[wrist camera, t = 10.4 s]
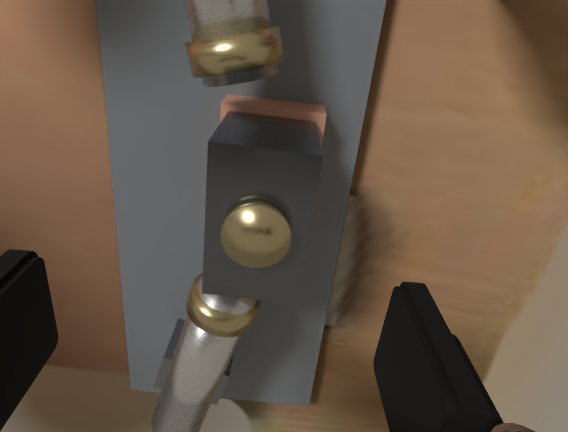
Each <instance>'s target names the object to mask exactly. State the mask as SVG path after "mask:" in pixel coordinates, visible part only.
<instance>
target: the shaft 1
mask: <svg viewBox="0 0 568 432" xmlns="http://www.w3.org/2000/svg"><path fill="white" fill-rule="evenodd" d="M183 4H184V8H185V12H186V16H187V20H188V25H189V29H190V33H191V37H192V41H189V42H185V47H186V51H187V56H188V60H189V64H190V68H191V72H192V76H193V77H196V78H201V79H202V84H203V86H204V87H219V86H228V85H234V84H240V83H246V82H251V81H255V80H259V79H263V78H267V77H270V76H273V75H275V74H277V73H278V72H279V71H278V63H281V62H283V61H284V60H285V58H284V52H283V45H282V38H281V31H280V26H273V27H272V26H271V20H270V13H269V7H268V0H183Z"/></svg>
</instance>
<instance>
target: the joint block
mask: <svg viewBox="0 0 568 432" xmlns="http://www.w3.org/2000/svg"><path fill="white" fill-rule="evenodd" d="M322 159H323V153H322V148H321V143H320V138H319V133H318V128H317V124H316V122H315V121H307V120H300V119H292V118H284V117H276V116H268V115H260V114H252V113H244V112H237V111H228V112H227V114H226V115H225V117H224V118H223V120H222V121H221V123H220V124H219V126H218V127H217V129H216V130H215V132H214V133H213V135H212V136H211V138H210V139H209V141H208V153H207V179H206V204H205V230H204V255H203V281H202V293H203V294H212V295H221V296H230V297H239V298H248V299H257V300H266V301H275V302H284V303H293V304H298V299H299V293H300V287H301V282H302V276H303V270H304V264H305V258H306V252H307V246H308V241H309V235H310V229H311V223H312V217H313V211H314V205H315V200H316V194H317V188H318V182H319V176H320V170H321V164H322Z"/></svg>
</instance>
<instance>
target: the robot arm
mask: <svg viewBox="0 0 568 432" xmlns="http://www.w3.org/2000/svg"><path fill="white" fill-rule="evenodd" d="M57 342H58V332H57V326H56V321H55V316H54V311H53V305H52V300H51V295H50V290H49V284H48V279H47V274H46V269H45V263H44V260H43V259H42V258H41V257H38V255H37V254H36V252H34V251H25V250H13V249H11V250H8V251H6V252H5V253H4V254H3V255H1V256H0V431H1V429H2V428H3V426H4V425H5V423H6V422H7V420H8V419H9V417H10V416H11V414H12V413H13V411H14V410H15V408H16V407H17V405H18V404H19V402H20V401H21V399H22V398H23V396H24V395H25V393H26V392H27V390H28V389H29V387H30V386H31V384H32V383H33V381H34V380H35V378H36V377H37V375H38V374H39V372H40V371H41V369H42V368H43V366H44V365H45V363H46V362H47V360H48V359H49V357H50V356H51V354H52V353H53V351H54V350H55V348H56V345H57ZM374 372H375V376H376V380H377V384H378V388H379V392H380V395H381V399H382V403H383V407H384V411H385V415H386V419H387V423H388V426H389V430H390V432H535V431H533V430H531V429H529V428H527V427H524V426H521V425H518V424H514V423H503V421H502V419H501V417H500V415H499V413H498V411H497V410H496V408H495V406H494V404H493V402H492V400H491V399H490V397H489V395H488V393H487V391H486V389H485V387H484V385H483V384H482V382H481V380H480V378H479V376H478V374H477V372H476V371H475V369H474V367H473V365H472V363H471V361H470V359H469V358H468V356H467V354H466V352H465V350H464V348H463V346H462V345H461V343H460V341H459V340H458V338H457V337H456V336H455V335H453V334H451V332H450V330H449V328H448V326H447V325H446V323H445V321H444V319H443V317H442V315H441V313H440V311H439V309H438V307H437V306H436V304H435V302H434V300H433V298H432V296H431V294H430V292H429V290H428V288H427V287H426V285H425V284H423V283H414V282H402V283H401V285H400V287H398V286H396V287H394V289H393V292H392V296H391V299H390V303H389V306H388V310H387V314H386V317H385V321H384V325H383V328H382V332H381V335H380V339H379V343H378V346H377V350H376V353H375V357H374Z"/></svg>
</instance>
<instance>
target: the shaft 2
mask: <svg viewBox="0 0 568 432" xmlns="http://www.w3.org/2000/svg"><path fill="white" fill-rule="evenodd" d="M202 281H203V273H201V274H199V275H198V276H197V277H196V278H195V279H194V281H193V283H192V286H191V289H190V291H189V294H188V297H187V300H186V306H185V307H186V312H187V314H188V315H187V318H186V320H183V319H180V318H178V320H177V323H176V325H175V328H174V331H173V333H172V336H171V339H170V341H169V344H168V346H167V349H166V352H165V354H164V357H163V360H162V363H161V366H160V369H159V372H158V375H157V377H156V380H155V383H154V386H153V387H154V388H158V389H161V392H160V395H159V398H158V400H157V403H156V406H155V409H154V412H153V414H152V418H151V425H152V429H153V432H199V429H200V427H201V425H202V422H203V420H204V418H205V416H206V414H207V411H208V409H209V407H210V405H211V403H212V404H215V405H217V403H218V401H219V399H220V397H221V394H222V392H223V390H224V388H225V386H226V383H227V381H228V379H229V377H230V371H231V366H232V360H233V354H234V350H235V348H236V346H237V343H238V341H239V339H240V336H241V335H242V334H244V333H246V332H247V331H248V330H249V329H250V328H251V326H252V324H253V321H254V319H255V317H256V315H257V313H258V310H259V308H260V305H261V300H257V299H248V298H239V297H230V296H221V295H212V294H203V293H202Z"/></svg>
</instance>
